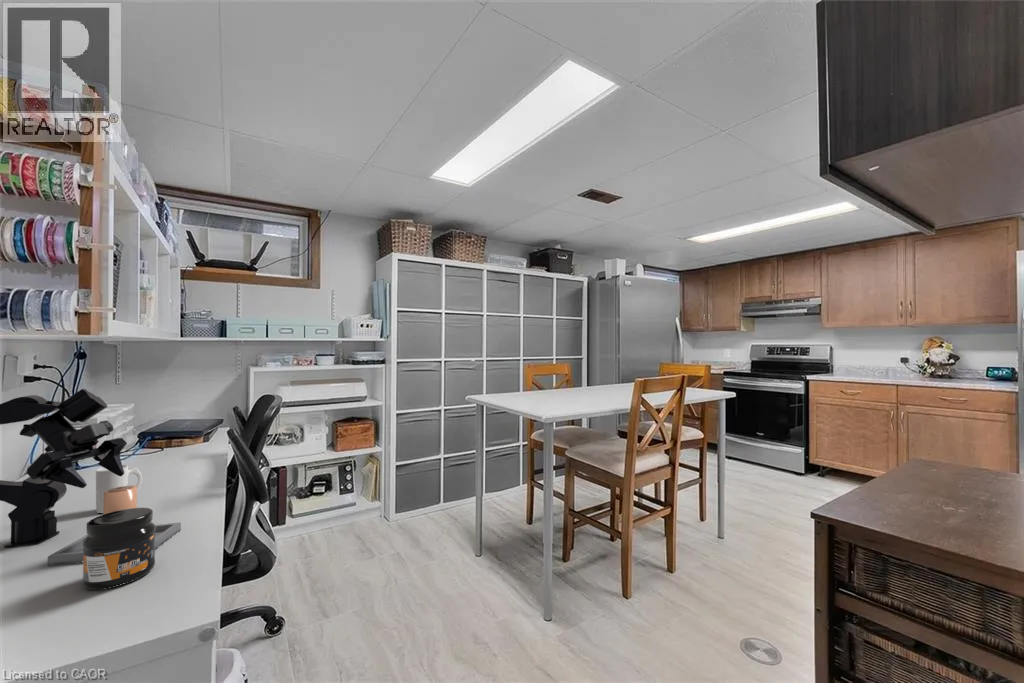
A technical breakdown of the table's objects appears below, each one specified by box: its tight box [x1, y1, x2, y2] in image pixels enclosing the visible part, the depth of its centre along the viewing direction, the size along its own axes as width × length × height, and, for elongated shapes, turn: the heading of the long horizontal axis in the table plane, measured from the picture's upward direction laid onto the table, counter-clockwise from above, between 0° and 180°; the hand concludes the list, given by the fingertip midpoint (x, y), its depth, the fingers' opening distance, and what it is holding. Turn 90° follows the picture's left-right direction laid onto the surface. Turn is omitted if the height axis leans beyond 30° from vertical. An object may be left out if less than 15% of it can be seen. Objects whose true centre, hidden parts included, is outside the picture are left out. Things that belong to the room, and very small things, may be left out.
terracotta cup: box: [102, 485, 138, 515], centre depth 95 cm, size 6×6×12 cm
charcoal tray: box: [47, 522, 182, 567], centre depth 95 cm, size 18×13×2 cm
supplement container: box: [81, 507, 156, 590], centre depth 82 cm, size 10×10×12 cm
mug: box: [95, 464, 143, 514], centre depth 120 cm, size 10×7×12 cm, turn 145°
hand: (104, 480), depth 101 cm, fingers open, 9 cm apart
